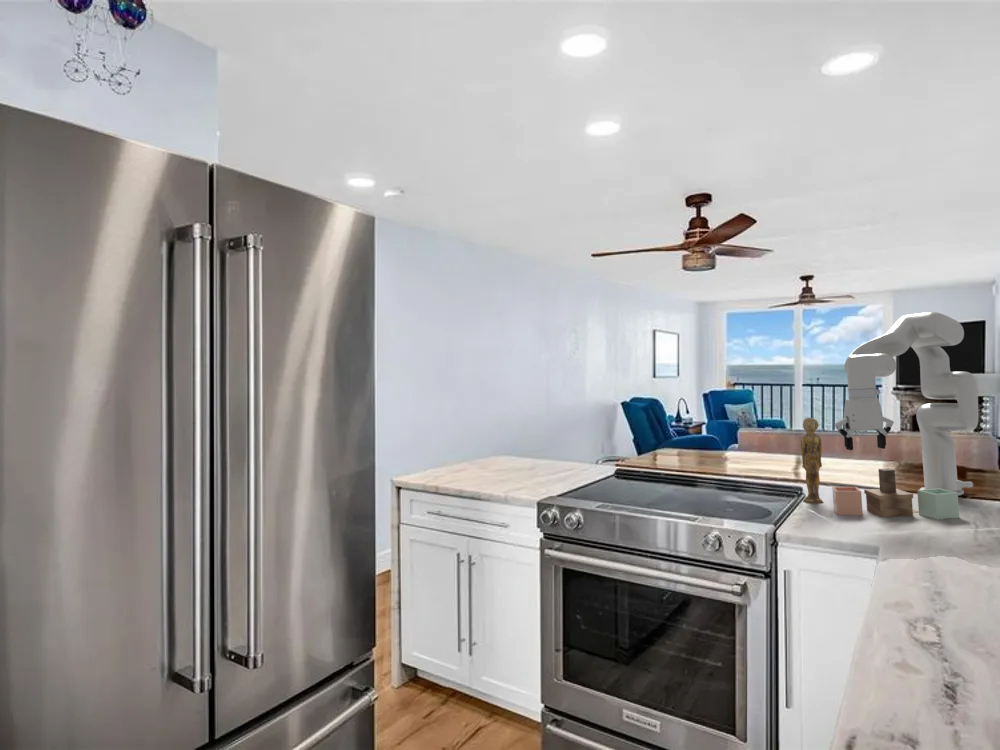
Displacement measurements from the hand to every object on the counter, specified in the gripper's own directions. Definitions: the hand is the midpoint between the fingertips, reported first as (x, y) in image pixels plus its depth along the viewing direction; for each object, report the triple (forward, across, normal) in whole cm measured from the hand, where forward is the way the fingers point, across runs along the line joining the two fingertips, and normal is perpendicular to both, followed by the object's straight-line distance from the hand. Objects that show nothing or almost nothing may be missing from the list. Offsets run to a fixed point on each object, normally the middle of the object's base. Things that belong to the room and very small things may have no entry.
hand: (865, 448), depth 191 cm
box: (+21, -6, +1) cm, 22 cm away
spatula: (+21, -12, -5) cm, 24 cm away
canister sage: (+21, -16, +7) cm, 27 cm away
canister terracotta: (+21, +5, -3) cm, 22 cm away
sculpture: (+21, +9, -19) cm, 30 cm away
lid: (+15, -6, +1) cm, 16 cm away
